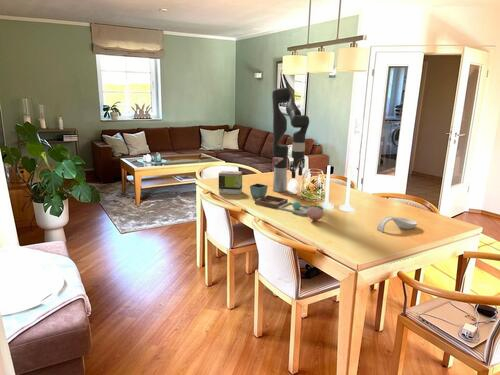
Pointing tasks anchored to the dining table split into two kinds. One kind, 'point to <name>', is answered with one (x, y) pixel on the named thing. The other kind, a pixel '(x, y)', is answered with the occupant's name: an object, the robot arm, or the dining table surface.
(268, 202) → the walnut box
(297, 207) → the ball
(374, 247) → the dining table surface
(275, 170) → the robot arm
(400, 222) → the spoon rest
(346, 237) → the dining table surface
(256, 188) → the flower pot
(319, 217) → the decorative fruit
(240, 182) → the retro computer monitor
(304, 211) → the tray
